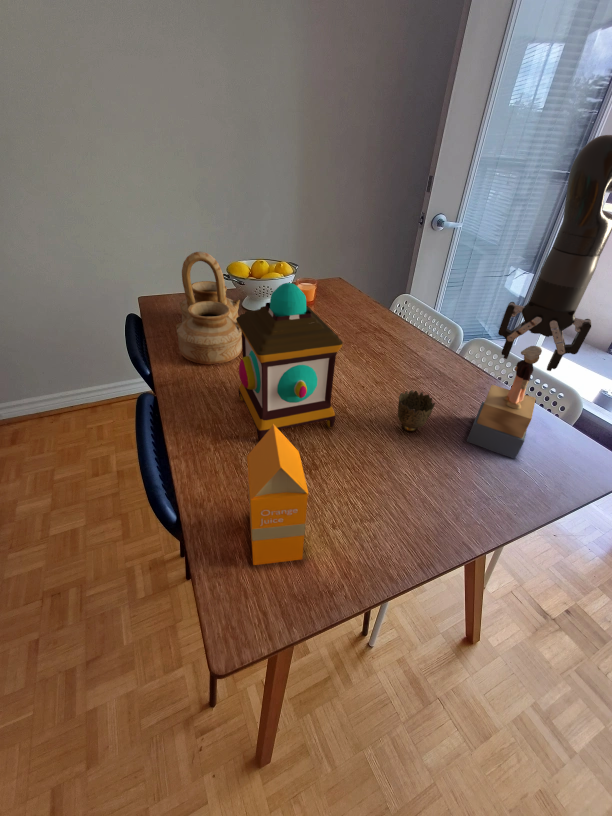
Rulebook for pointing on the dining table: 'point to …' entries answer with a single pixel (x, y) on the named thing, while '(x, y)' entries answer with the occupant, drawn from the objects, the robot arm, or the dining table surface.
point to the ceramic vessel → (208, 317)
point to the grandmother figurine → (522, 376)
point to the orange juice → (276, 500)
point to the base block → (495, 439)
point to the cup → (414, 410)
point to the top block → (506, 413)
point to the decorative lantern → (287, 363)
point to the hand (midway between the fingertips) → (526, 363)
